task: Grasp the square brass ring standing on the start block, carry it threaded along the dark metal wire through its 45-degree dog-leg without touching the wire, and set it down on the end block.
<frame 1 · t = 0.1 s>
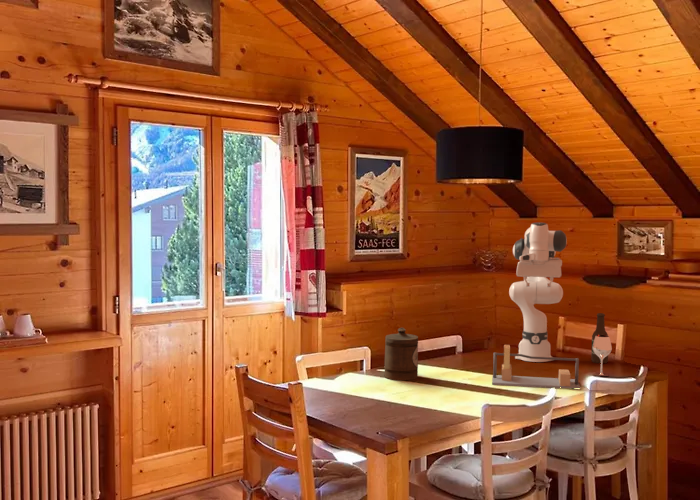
hand: (538, 287, 329), 39 cm above the table, tool pointing down, fingers open, 8 cm apart
beer bottle: (599, 362, 348), on the table
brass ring: (506, 366, 310), point 6 cm above the table, touching stand
stand: (534, 383, 306), on the table
wire: (535, 356, 306), point 11 cm above the table
wineglass: (601, 375, 321), on the table
wooden container: (401, 377, 317), on the table
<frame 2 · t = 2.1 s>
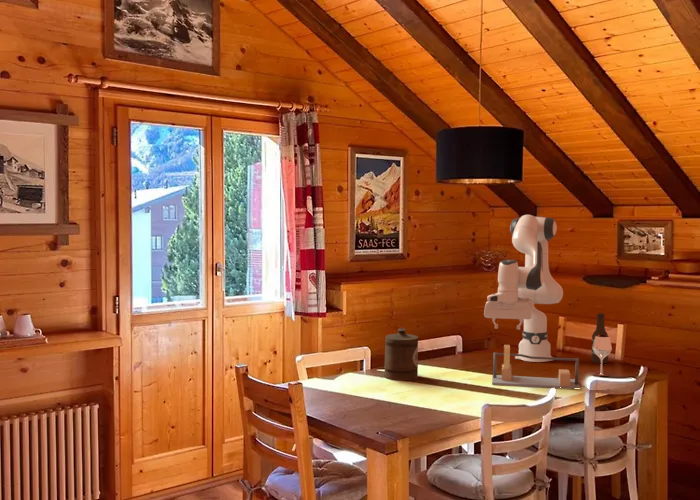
hand: (507, 328, 309), 23 cm above the table, tool pointing down, fingers open, 8 cm apart
nothing on the table moved.
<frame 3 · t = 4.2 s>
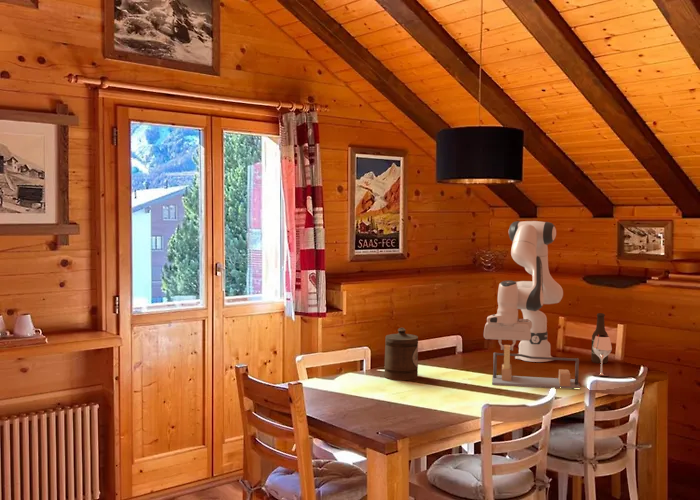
hand: (506, 349, 310), 14 cm above the table, tool pointing down, fingers closed on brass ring, 2 cm apart
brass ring: (506, 366, 310), point 6 cm above the table, touching gripper, stand
everything else where it was.
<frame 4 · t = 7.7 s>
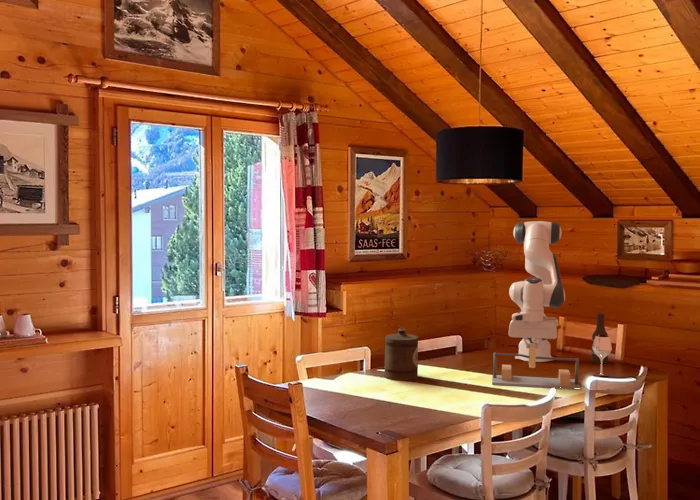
hand: (532, 348, 304), 16 cm above the table, tool pointing down, fingers closed on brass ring, 2 cm apart
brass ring: (532, 365, 304), point 8 cm above the table, touching gripper
everything else where it was.
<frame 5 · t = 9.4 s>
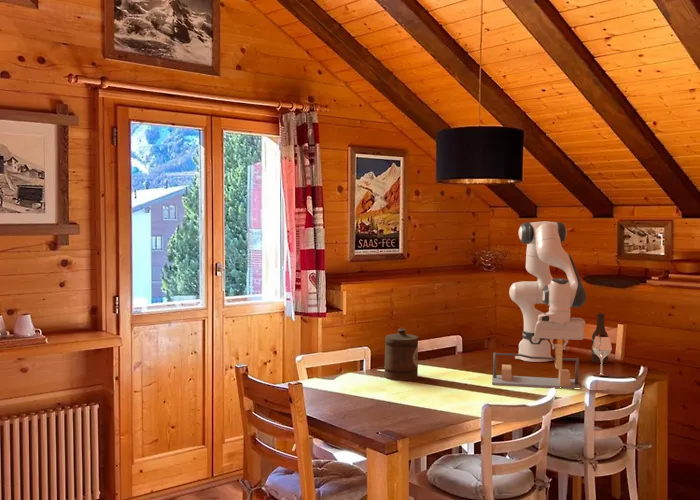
hand: (558, 349, 301), 16 cm above the table, tool pointing down, fingers closed on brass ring, 2 cm apart
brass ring: (558, 366, 302), point 8 cm above the table, touching gripper
everything else where it was.
when the fingers open (14 cm above the table, at t = 11.2 s): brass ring stays where it is, resting on stand.
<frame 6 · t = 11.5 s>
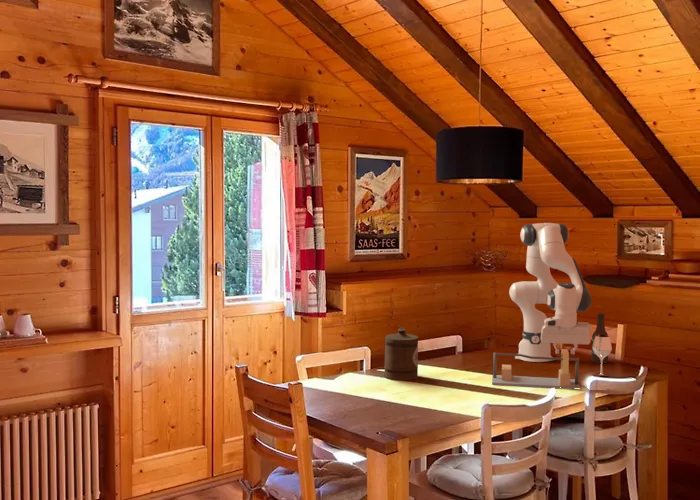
hand: (564, 353, 301), 14 cm above the table, tool pointing down, fingers open, 5 cm apart
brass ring: (564, 371, 301), point 6 cm above the table, touching stand
everything else where it was.
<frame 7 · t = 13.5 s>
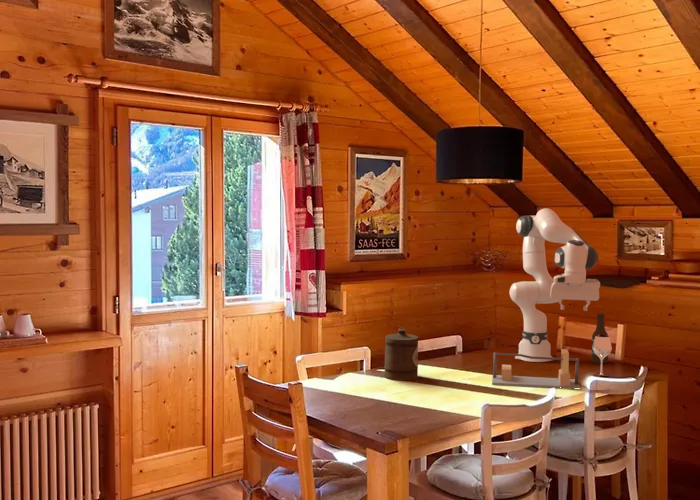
hand: (573, 310, 307), 31 cm above the table, tool pointing down, fingers open, 8 cm apart
nothing on the table moved.
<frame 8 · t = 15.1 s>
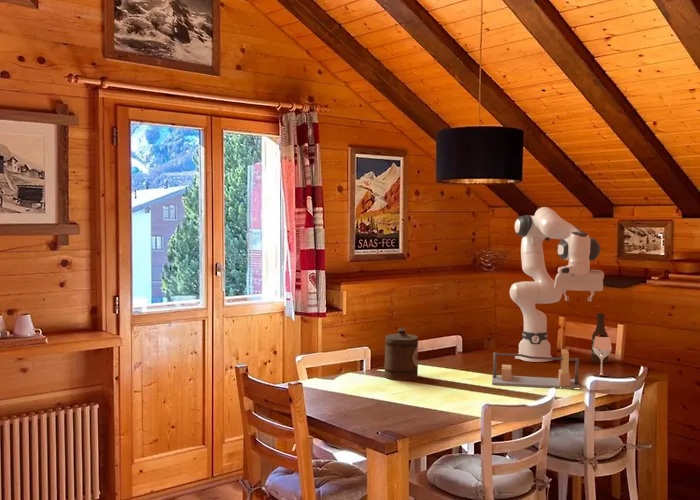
hand: (578, 300, 309), 35 cm above the table, tool pointing down, fingers open, 8 cm apart
nothing on the table moved.
at the end: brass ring 0.0 cm from the target spot on the stand, point 6.0 cm above the stand's base; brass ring tilted 0°; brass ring touching stand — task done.
